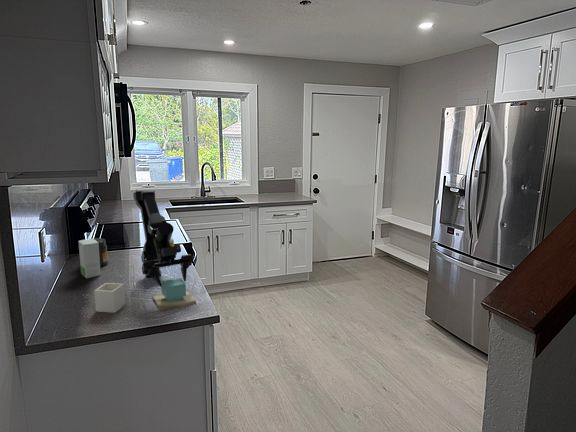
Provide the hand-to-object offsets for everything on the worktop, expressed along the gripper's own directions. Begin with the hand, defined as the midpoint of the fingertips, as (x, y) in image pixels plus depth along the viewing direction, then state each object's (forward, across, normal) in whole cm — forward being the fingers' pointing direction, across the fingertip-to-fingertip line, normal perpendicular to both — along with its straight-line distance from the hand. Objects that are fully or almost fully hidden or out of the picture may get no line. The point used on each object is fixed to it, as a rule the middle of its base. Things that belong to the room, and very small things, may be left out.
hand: (173, 283), depth 146 cm
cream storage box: (+1, -21, +9) cm, 23 cm away
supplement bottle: (-32, +12, +43) cm, 55 cm away
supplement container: (-38, -20, +48) cm, 65 cm away
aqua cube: (+4, 0, +4) cm, 6 cm away
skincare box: (-28, -24, +39) cm, 53 cm away
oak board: (+5, 0, +5) cm, 7 cm away
